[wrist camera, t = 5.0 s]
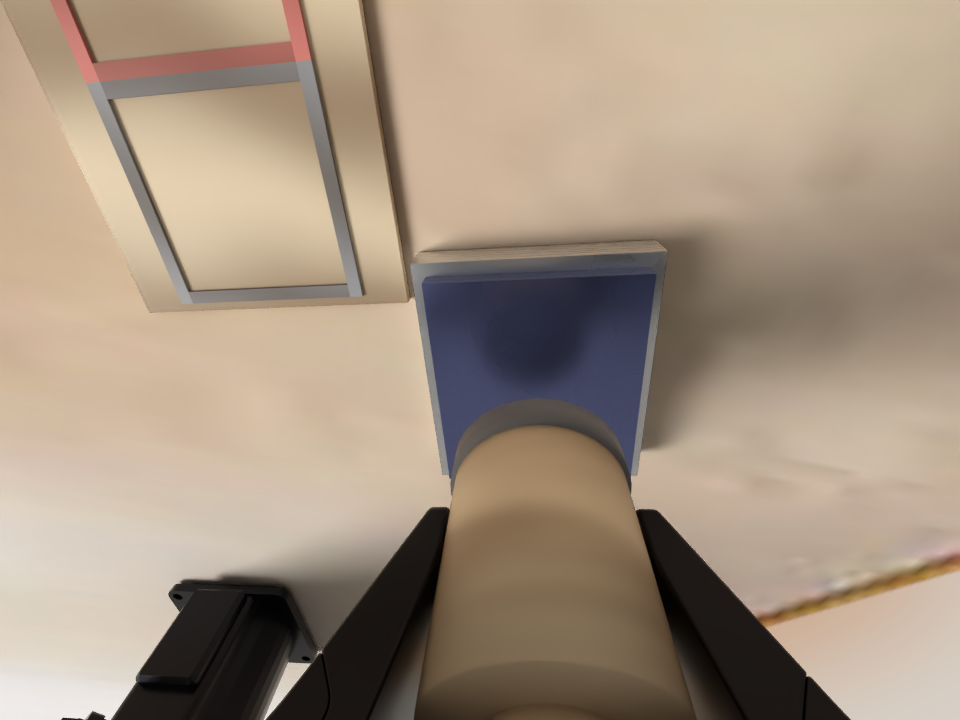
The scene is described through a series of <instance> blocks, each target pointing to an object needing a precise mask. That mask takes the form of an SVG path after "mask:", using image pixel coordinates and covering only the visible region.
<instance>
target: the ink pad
mask: <svg viewBox="0 0 960 720" xmlns="http://www.w3.org/2000/svg"><path fill="white" fill-rule="evenodd" d="M667 254H668V251H667V250H666V249H665V248H664V247H663V246H662V245H661V244H660V243H658V242H657V241H656V240H644V241H625V242H606V243H587V244H567V245H548V246H529V247H510V248H491V249H472V250H452V251H433V252H418V254H417V255H416V256H415V258H414V259H413V260H412V262H411V263H410V268H411V275H412V281H413V288H414V294H415V301H416V307H417V314H418V320H419V326H420V333H421V339H422V346H423V352H424V359H425V365H426V372H427V378H428V384H429V391H430V397H431V404H432V410H433V417H434V423H435V430H436V436H437V442H438V449H439V455H440V462H441V468H442V475H449V477H450V479H451V476H452V470H453V465H454V460H455V454H456V450H457V447H458V443H459V441H460V439H461V437H462V435H463V434H464V432H465V431H466V430H467V428H468V427H469V426H470V425H471V424H472V423H473V422H474V421H475V420H476V419H478V418H479V417H480V416H481V415H483V414H484V413H486V412H488V411H489V410H491V409H493V408H496V407H498V406H500V405H503V404H506V403H509V402H513V401H518V400H523V399H535V398H541V399H554V400H561V401H565V402H568V403H572V404H575V405H577V406H580V407H583V408H585V409H586V410H588V411H590V412H592V413H594V414H595V415H596V416H598V417H599V418H601V419H602V420H603V421H604V422H605V423H606V424H607V425H608V426H609V427H610V428H611V429H612V431H613V432H614V433H615V435H616V437H617V438H618V440H619V442H620V445H621V448H622V451H623V454H624V457H625V461H626V464H627V467H628V470H629V474H630V478H631V476H637V474H638V466H639V459H640V452H641V444H642V437H643V430H644V422H645V415H646V408H647V400H648V393H649V386H650V378H651V371H652V364H653V357H654V349H655V342H656V335H657V327H658V320H659V313H660V305H661V298H662V291H663V283H664V276H665V269H666V261H667Z"/></svg>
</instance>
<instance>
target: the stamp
mask: <svg viewBox="0 0 960 720" xmlns="http://www.w3.org/2000/svg"><path fill="white" fill-rule="evenodd" d="M451 494H452V501H451V507H450V513H449V518H448V524H447V530H446V535H445V541H444V547H443V552H442V558H441V564H440V570H439V575H438V581H437V587H436V592H435V598H434V604H433V609H432V615H431V621H430V626H429V632H428V638H427V643H426V649H425V655H424V660H423V666H422V672H421V677H420V683H419V689H418V694H417V700H416V706H415V712H414V720H697V718H696V715H695V712H694V708H693V705H692V701H691V698H690V695H689V691H688V688H687V684H686V681H685V678H684V674H683V671H682V667H681V664H680V661H679V657H678V654H677V650H676V647H675V644H674V640H673V637H672V633H671V630H670V627H669V623H668V620H667V616H666V613H665V610H664V606H663V603H662V599H661V596H660V593H659V589H658V586H657V582H656V579H655V576H654V572H653V569H652V565H651V562H650V559H649V555H648V552H647V548H646V545H645V542H644V538H643V535H642V531H641V528H640V525H639V521H638V518H637V514H636V511H635V508H634V504H633V501H632V497H631V478H630V474H629V470H628V467H627V464H626V461H625V457H624V454H623V451H622V448H621V445H620V442H619V440H618V438H617V437H616V435H615V433H614V432H613V431H612V429H611V428H610V427H609V426H608V425H607V424H606V423H605V422H604V421H603V420H602V419H601V418H599V417H598V416H596V415H595V414H594V413H592V412H590V411H588V410H586V409H585V408H583V407H580V406H577V405H575V404H572V403H568V402H565V401H561V400H554V399H541V398H535V399H523V400H518V401H513V402H509V403H506V404H503V405H500V406H498V407H496V408H493V409H491V410H489V411H488V412H486V413H484V414H483V415H481V416H480V417H479V418H478V419H476V420H475V421H474V422H473V423H472V424H471V425H470V426H469V427H468V428H467V430H466V431H465V432H464V434H463V435H462V437H461V439H460V441H459V443H458V447H457V450H456V454H455V460H454V465H453V470H452V476H451Z"/></svg>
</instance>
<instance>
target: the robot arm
mask: <svg viewBox="0 0 960 720" xmlns="http://www.w3.org/2000/svg"><path fill="white" fill-rule="evenodd" d="M449 513H450V510H449V508H447V507H432V508H430V509H429V510H428V511H427V512H426V514H425V515H424V516H423V518H422V519H421V520H420V522H419V523H418V524H417V526H416V527H415V528H414V530H413V531H412V532H411V533H410V535H409V536H408V537H407V539H406V540H405V541H404V543H403V544H402V545H401V547H400V548H399V549H398V551H397V552H396V553H395V554H394V556H393V557H392V558H391V560H390V561H389V562H388V564H387V565H386V566H385V568H384V569H383V570H382V572H381V573H380V574H379V575H378V577H377V578H376V579H375V581H374V582H373V583H372V585H371V586H370V587H369V589H368V590H367V591H366V593H365V594H364V595H363V596H362V598H361V599H360V600H359V602H358V603H357V604H356V606H355V607H354V608H353V610H352V611H351V612H350V614H349V615H348V616H347V617H346V619H345V620H344V621H343V623H342V624H341V625H340V627H339V628H338V629H337V631H336V632H335V633H334V635H333V636H332V637H331V639H330V640H329V641H328V642H327V644H326V645H325V646H324V648H323V649H322V653H319V654H318V655H317V650H316V648H315V646H314V644H313V642H312V640H311V637H310V635H309V633H308V631H307V629H306V627H305V625H304V622H303V620H302V618H301V616H300V614H299V612H298V610H297V607H296V605H295V603H294V601H293V599H292V597H291V595H290V593H289V591H287V590H286V589H284V588H281V587H260V586H229V585H199V584H176V585H174V586H173V588H172V589H171V590H170V592H169V594H168V595H169V597H170V599H171V600H172V601H173V603H174V604H175V606H176V607H177V609H178V610H179V612H180V613H179V614H178V616H177V617H176V619H175V620H174V621H173V623H172V624H171V626H170V627H169V629H168V630H167V632H166V633H165V635H164V636H163V638H162V639H161V640H160V642H159V643H158V645H157V646H156V648H155V649H154V651H153V652H152V654H151V655H150V656H149V658H148V659H147V661H146V662H145V664H144V665H143V667H142V668H141V670H140V671H139V673H138V674H137V676H136V681H137V682H136V684H135V685H134V687H133V688H132V690H131V691H130V692H129V694H128V695H127V697H126V698H125V700H124V701H123V703H122V704H121V706H120V707H119V709H118V710H117V712H116V713H115V715H114V716H113V718H112V719H111V720H264V717H265V715H266V713H267V710H268V708H269V706H270V703H271V701H272V699H273V696H274V694H275V691H276V689H277V687H278V684H279V682H280V680H281V677H282V675H283V673H284V670H285V668H286V666H287V663H288V662H292V663H311V664H310V666H309V667H308V668H307V670H306V671H305V672H304V674H303V675H302V676H301V677H300V679H299V680H298V681H297V682H296V684H295V685H294V686H293V687H292V689H291V690H290V691H289V692H288V694H287V695H286V696H285V698H284V699H283V700H282V701H281V702H280V704H279V705H278V706H277V707H276V708H275V709H274V711H273V712H272V713H271V714H270V715H269V716H268V717H267V719H266V720H414V712H415V706H416V700H417V694H418V689H419V683H420V677H421V672H422V666H423V660H424V655H425V649H426V643H427V638H428V632H429V626H430V621H431V615H432V609H433V604H434V598H435V592H436V587H437V581H438V575H439V570H440V564H441V558H442V552H443V547H444V541H445V535H446V530H447V524H448V518H449ZM636 514H637V518H638V521H639V525H640V528H641V531H642V535H643V538H644V542H645V545H646V548H647V552H648V555H649V559H650V562H651V565H652V569H653V572H654V576H655V579H656V582H657V586H658V589H659V593H660V596H661V599H662V603H663V606H664V610H665V613H666V616H667V620H668V623H669V627H670V630H671V633H672V637H673V640H674V644H675V647H676V650H677V654H678V657H679V661H680V664H681V667H682V671H683V674H684V678H685V681H686V684H687V688H688V691H689V695H690V698H691V701H692V705H693V708H694V712H695V715H696V718H697V720H850V718H849V717H848V716H847V715H846V714H845V713H844V712H843V711H842V710H841V709H840V708H839V707H838V706H837V705H836V704H835V703H834V702H833V701H832V700H831V698H830V697H829V696H828V695H827V694H826V693H825V692H824V691H823V690H822V689H821V688H820V686H819V685H818V684H817V683H816V682H815V681H814V680H813V679H812V678H811V677H809V676H808V677H806V672H805V670H804V669H803V668H802V667H801V666H800V665H799V664H798V663H797V662H796V661H795V659H794V658H793V657H792V656H791V655H790V654H789V653H788V652H787V651H786V650H785V649H784V648H783V646H782V645H781V644H780V643H779V642H778V641H777V640H776V639H775V638H774V637H773V636H772V634H771V633H770V632H769V631H768V630H767V629H766V628H765V627H764V626H763V625H762V624H761V622H760V621H759V620H758V619H757V618H756V617H755V616H754V615H753V614H752V613H751V612H750V610H749V609H748V608H747V607H746V606H745V605H744V604H743V603H742V602H741V601H740V600H739V598H738V597H737V596H736V595H735V594H734V593H733V592H732V591H731V590H730V589H729V588H728V586H727V585H726V584H725V583H724V582H723V581H722V580H721V579H720V578H719V577H718V576H717V575H716V573H715V572H714V571H713V570H712V569H711V568H710V567H709V566H708V565H707V564H706V563H705V561H704V560H703V559H702V558H701V557H700V556H699V555H698V554H697V553H696V552H695V551H694V549H693V548H692V547H691V546H690V545H689V544H688V543H687V542H686V541H685V540H684V539H683V537H682V536H681V535H680V534H679V533H678V532H677V531H676V530H675V529H674V528H673V527H672V526H671V524H670V523H669V522H668V521H667V520H666V519H665V518H664V517H663V516H662V515H661V514H660V513H659V512H658V511H657V510H653V509H639V510H636ZM316 656H317V657H316ZM104 718H105V716H104V715H101V714H99V713H96V712H94V711H92V712H91V713H90V715H89V716H88V717H87V718H86V719H85V720H106V719H104ZM61 720H83V719H80V718H79V719H74V718H62V719H61Z"/></svg>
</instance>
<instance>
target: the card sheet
mask: <svg viewBox="0 0 960 720" xmlns="http://www.w3.org/2000/svg"><path fill="white" fill-rule="evenodd" d="M0 1H1V3H2V5H3V7H4V9H5V11H6V13H7V15H8V18H9V20H10V22H11V24H12V26H13V28H14V30H15V32H16V34H17V36H18V38H19V41H20V43H21V45H22V47H23V49H24V51H25V53H26V55H27V57H28V59H29V61H30V64H31V66H32V68H33V70H34V72H35V74H36V76H37V78H38V80H39V82H40V84H41V87H42V89H43V91H44V93H45V95H46V97H47V99H48V101H49V103H50V105H51V108H52V110H53V112H54V114H55V116H56V118H57V120H58V122H59V124H60V126H61V128H62V131H63V133H64V135H65V137H66V139H67V141H68V143H69V145H70V147H71V149H72V151H73V154H74V156H75V158H76V160H77V162H78V164H79V166H80V168H81V170H82V172H83V174H84V177H85V179H86V181H87V183H88V185H89V187H90V189H91V191H92V193H93V195H94V198H95V200H96V202H97V204H98V206H99V208H100V210H101V212H102V214H103V216H104V218H105V221H106V223H107V225H108V227H109V229H110V231H111V233H112V235H113V237H114V239H115V241H116V244H117V246H118V248H119V250H120V252H121V254H122V256H123V258H124V260H125V262H126V264H127V267H128V269H129V271H130V273H131V275H132V277H133V279H134V281H135V283H136V285H137V287H138V290H139V292H140V294H141V296H142V298H143V300H144V302H145V304H146V306H147V308H148V311H149V313H154V312H179V311H204V310H230V309H255V308H280V307H305V306H331V305H356V304H381V303H406V302H408V301H409V300H410V296H409V290H408V284H407V278H406V271H405V265H404V259H403V253H402V247H401V240H400V234H399V228H398V222H397V216H396V209H395V203H394V197H393V191H392V185H391V178H390V172H389V166H388V160H387V154H386V147H385V141H384V135H383V129H382V123H381V116H380V110H379V104H378V98H377V92H376V85H375V79H374V73H373V67H372V61H371V54H370V48H369V42H368V36H367V30H366V23H365V17H364V11H363V5H362V0H0Z"/></svg>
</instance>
